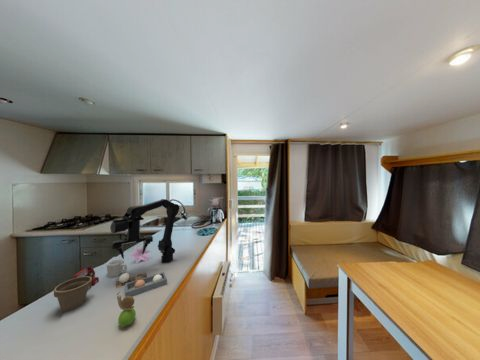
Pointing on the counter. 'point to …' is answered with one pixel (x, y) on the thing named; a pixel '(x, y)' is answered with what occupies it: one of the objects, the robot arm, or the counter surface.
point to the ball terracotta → (139, 283)
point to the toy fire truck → (90, 273)
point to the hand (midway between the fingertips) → (133, 256)
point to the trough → (146, 287)
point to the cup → (116, 267)
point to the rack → (131, 280)
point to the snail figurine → (126, 310)
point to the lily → (140, 254)
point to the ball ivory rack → (124, 278)
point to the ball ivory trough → (157, 278)
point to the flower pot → (72, 292)
